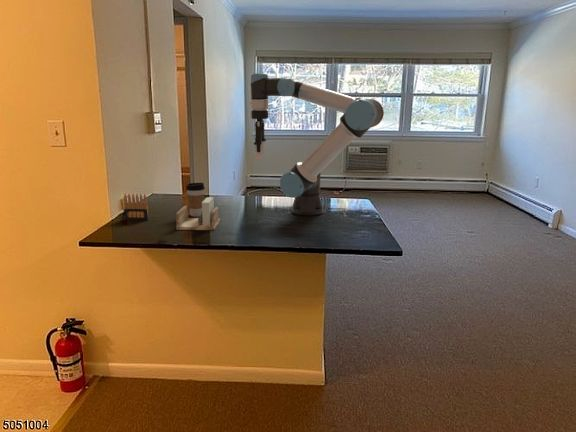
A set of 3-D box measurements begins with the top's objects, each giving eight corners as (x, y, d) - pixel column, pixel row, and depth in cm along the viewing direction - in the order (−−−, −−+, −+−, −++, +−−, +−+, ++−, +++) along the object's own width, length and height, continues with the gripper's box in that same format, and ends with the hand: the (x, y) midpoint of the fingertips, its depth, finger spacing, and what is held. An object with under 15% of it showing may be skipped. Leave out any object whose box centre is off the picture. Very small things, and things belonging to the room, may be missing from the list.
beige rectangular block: (214, 219, 195) (213, 197, 192) (209, 225, 185) (208, 202, 183) (207, 219, 195) (206, 197, 192) (202, 225, 185) (201, 202, 183)
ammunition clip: (149, 219, 200) (147, 193, 197) (148, 220, 198) (146, 194, 195) (126, 218, 200) (123, 192, 197) (124, 219, 198) (122, 193, 195)
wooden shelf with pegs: (220, 220, 197) (219, 205, 195) (214, 230, 184) (213, 213, 182) (184, 220, 198) (184, 205, 196) (176, 229, 184) (175, 213, 182)
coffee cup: (201, 217, 202) (200, 185, 198) (184, 216, 204) (182, 184, 200) (208, 213, 210) (207, 182, 206) (191, 212, 212) (190, 181, 208)
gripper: (254, 109, 209) (255, 153, 214) (247, 110, 185) (249, 161, 190) (270, 109, 209) (270, 154, 214) (265, 110, 184) (266, 161, 190)
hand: (260, 157), depth 202 cm, fingers open, 13 cm apart
